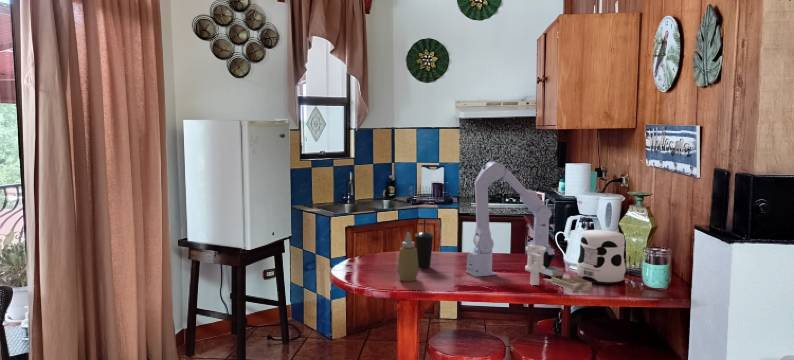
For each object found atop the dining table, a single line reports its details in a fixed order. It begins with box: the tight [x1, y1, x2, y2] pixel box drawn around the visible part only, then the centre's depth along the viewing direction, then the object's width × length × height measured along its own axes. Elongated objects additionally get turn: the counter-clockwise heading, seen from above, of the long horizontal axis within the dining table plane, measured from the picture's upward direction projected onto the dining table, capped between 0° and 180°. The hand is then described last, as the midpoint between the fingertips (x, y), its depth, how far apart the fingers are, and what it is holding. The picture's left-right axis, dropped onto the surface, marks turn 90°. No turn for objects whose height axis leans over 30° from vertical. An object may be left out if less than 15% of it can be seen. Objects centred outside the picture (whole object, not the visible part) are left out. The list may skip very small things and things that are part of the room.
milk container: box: [576, 229, 626, 285], centre depth 210 cm, size 17×17×18 cm
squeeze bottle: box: [397, 232, 420, 282], centre depth 209 cm, size 8×8×18 cm
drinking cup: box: [414, 218, 435, 270], centre depth 227 cm, size 8×8×20 cm
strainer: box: [524, 244, 546, 286], centre depth 205 cm, size 7×7×15 cm
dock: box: [542, 274, 593, 292], centre depth 206 cm, size 9×17×3 cm, turn 22°
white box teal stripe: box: [540, 265, 564, 279], centre depth 213 cm, size 5×7×4 cm
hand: (539, 268), depth 221 cm, fingers open, 7 cm apart
